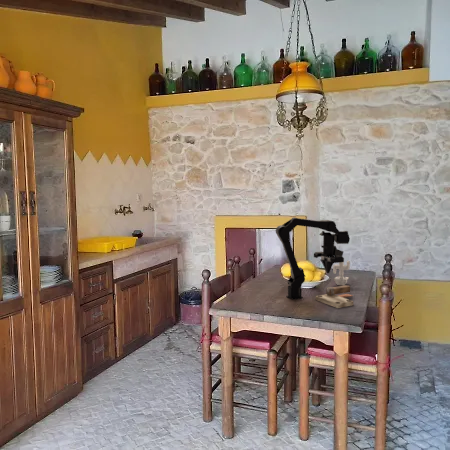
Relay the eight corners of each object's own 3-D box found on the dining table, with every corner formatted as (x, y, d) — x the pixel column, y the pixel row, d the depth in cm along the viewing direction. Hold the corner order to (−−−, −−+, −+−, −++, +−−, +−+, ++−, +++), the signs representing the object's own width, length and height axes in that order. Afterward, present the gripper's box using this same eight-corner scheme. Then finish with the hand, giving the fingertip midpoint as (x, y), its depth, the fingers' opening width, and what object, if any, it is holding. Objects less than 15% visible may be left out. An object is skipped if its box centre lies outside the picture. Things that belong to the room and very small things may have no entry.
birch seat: (337, 308, 211) (337, 303, 211) (315, 299, 226) (315, 295, 226) (353, 305, 215) (353, 300, 215) (331, 297, 231) (331, 293, 230)
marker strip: (336, 298, 227) (336, 298, 227) (331, 297, 231) (331, 296, 231) (352, 296, 232) (352, 295, 232) (347, 294, 235) (347, 293, 235)
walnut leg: (330, 295, 225) (330, 289, 225) (325, 293, 229) (325, 287, 228) (350, 291, 231) (350, 286, 231) (346, 290, 235) (346, 284, 234)
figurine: (334, 282, 263) (334, 257, 261) (350, 283, 259) (350, 258, 257) (331, 285, 256) (331, 259, 255) (348, 286, 252) (348, 260, 251)
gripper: (352, 245, 225) (351, 275, 227) (330, 240, 242) (329, 268, 244) (335, 246, 220) (334, 277, 222) (313, 242, 237) (312, 270, 239)
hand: (328, 273), depth 232 cm, fingers closed
